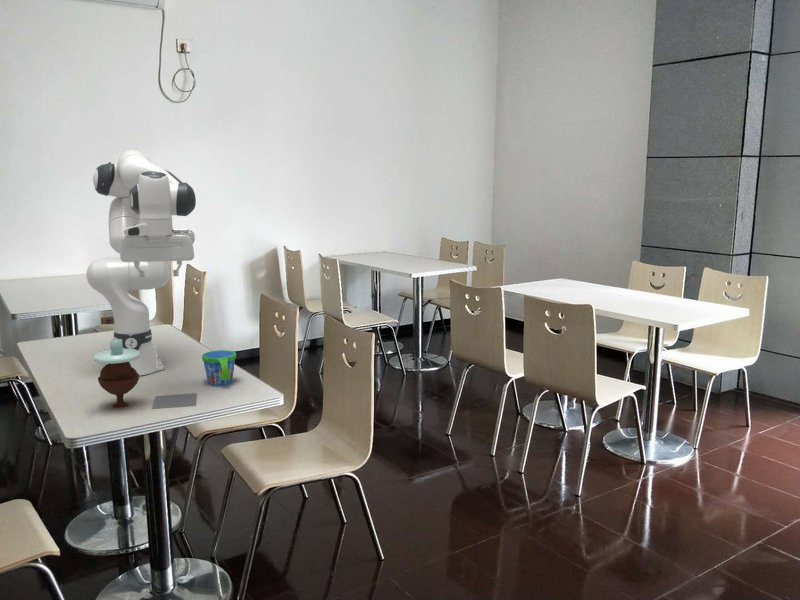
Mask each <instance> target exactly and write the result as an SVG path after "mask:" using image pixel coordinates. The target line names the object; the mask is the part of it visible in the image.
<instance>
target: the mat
mask: <svg viewBox="0 0 800 600" xmlns="http://www.w3.org/2000/svg"><path fill="white" fill-rule="evenodd" d="M197 395H198V393H197V392H194V393H178V394H165V395H164V394H162V395H155V397H154V400H153V403H152V408H151V410H160V409H174V408H186V407H196V406H197V397H198V396H197Z"/></svg>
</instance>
